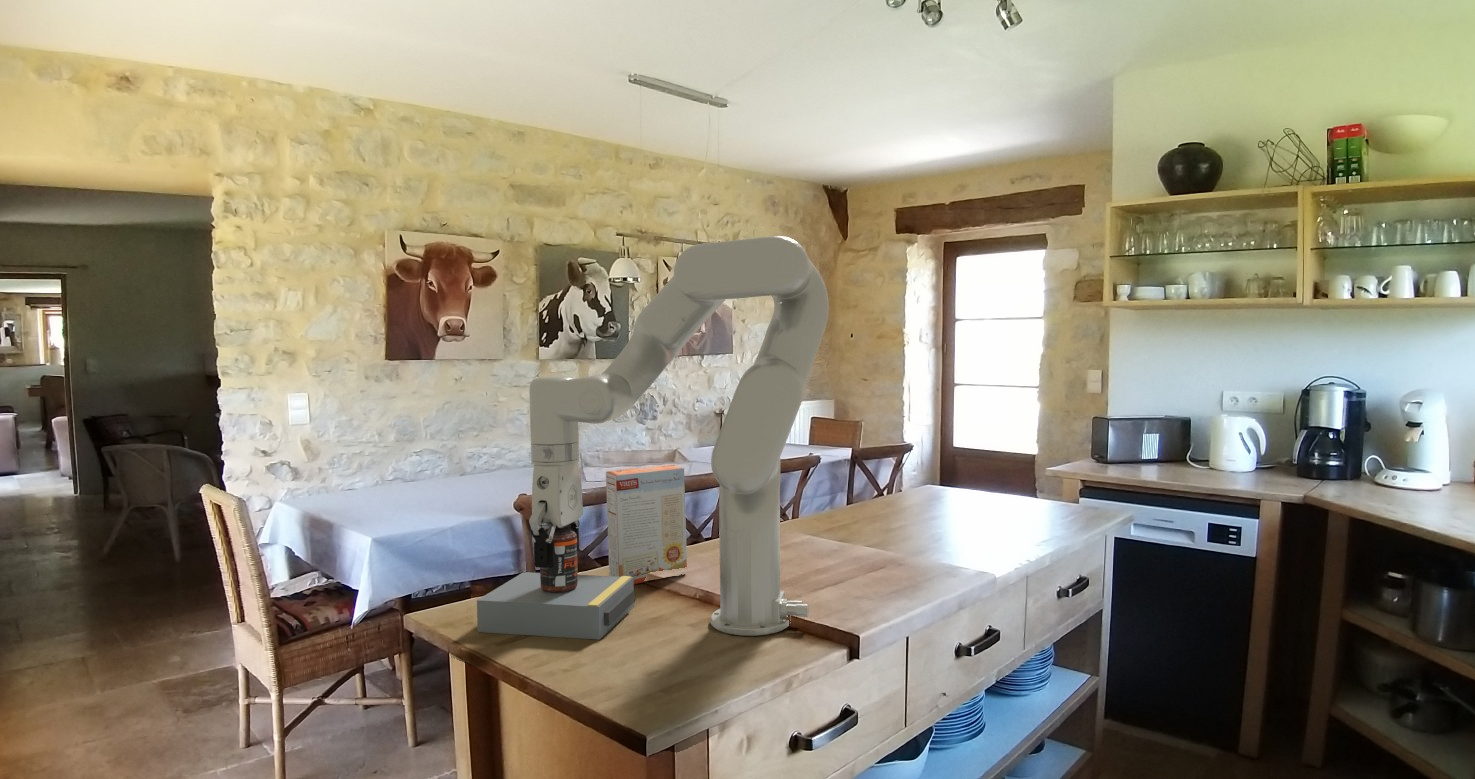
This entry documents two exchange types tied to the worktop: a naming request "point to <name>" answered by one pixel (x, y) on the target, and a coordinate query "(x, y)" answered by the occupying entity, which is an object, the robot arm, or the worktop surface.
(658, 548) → the cracker box
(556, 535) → the supplement bottle
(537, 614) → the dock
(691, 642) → the worktop surface
